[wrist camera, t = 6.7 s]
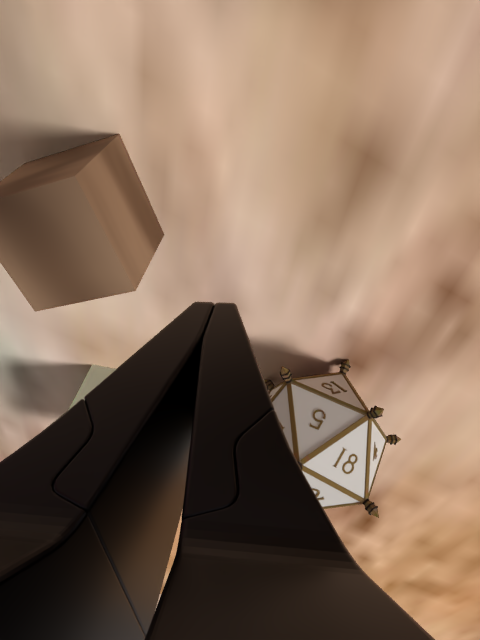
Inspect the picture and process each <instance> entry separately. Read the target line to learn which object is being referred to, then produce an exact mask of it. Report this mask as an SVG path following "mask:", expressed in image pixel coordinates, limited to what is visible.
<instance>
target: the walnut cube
mask: <svg viewBox="0 0 480 640" xmlns="http://www.w3.org/2000/svg"><path fill="white" fill-rule="evenodd" d="M163 236H164V233H163V231H162V228H161V226H160V224H159V222H158V220H157V217H156V215H155V213H154V211H153V208H152V206H151V204H150V202H149V199H148V197H147V195H146V193H145V190H144V188H143V186H142V184H141V181H140V179H139V177H138V175H137V172H136V170H135V168H134V166H133V163H132V161H131V159H130V157H129V154H128V152H127V150H126V148H125V145H124V143H123V141H122V139H121V136H120V134H117V135H114V136H111V137H108V138H104V139H101V140H98V141H95V142H92V143H88V144H85V145H82V146H79V147H76V148H73V149H69V150H66V151H63V152H60V153H57V154H53V155H50V156H47V157H44V158H41V159H37V160H34V161H31V162H28V163H25V164H23V165H22V166H21V167H19V168H18V169H17V170H15V171H14V172H12V173H11V174H10V175H8V176H7V177H6V178H4V179H3V180H2V181H0V263H1V264H2V265H3V267H4V268H5V270H6V271H7V272H8V274H9V275H10V277H11V278H12V279H13V281H14V282H15V284H16V285H17V287H18V288H19V289H20V291H21V292H22V294H23V295H24V296H25V298H26V299H27V301H28V302H29V304H30V305H31V306H32V308H33V309H34V311H40V310H45V309H50V308H55V307H59V306H64V305H69V304H74V303H79V302H84V301H88V300H93V299H98V298H103V297H108V296H113V295H118V294H122V293H127V292H132V291H136V289H137V287H138V285H139V283H140V281H141V279H142V277H143V275H144V273H145V271H146V269H147V267H148V265H149V263H150V261H151V259H152V257H153V255H154V254H155V252H156V250H157V248H158V246H159V244H160V242H161V240H162V238H163Z"/></svg>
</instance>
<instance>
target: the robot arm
mask: <svg viewBox="0 0 480 640" xmlns="http://www.w3.org/2000/svg"><path fill="white" fill-rule="evenodd" d="M84 399H85V400H84ZM84 399H81V400H80V401H78V402H77V403H76V404H75V405H74V406H73V407H71V408H70V409H69V410H68V411H67V412H66V413H64V414H63V415H62V416H61V417H59V418H58V419H57V420H56V421H55V422H53V423H52V424H51V425H50V426H48V427H47V428H46V429H45V430H43V431H42V432H41V433H39V434H38V435H37V436H35V437H34V438H33V439H31V440H30V441H29V442H27V443H26V444H25V445H23V446H22V447H21V448H19V449H18V450H17V451H15V452H14V453H12V454H11V455H10V456H8V457H7V458H5V459H4V460H3V461H1V462H0V640H435V639H434V638H433V637H432V636H431V635H430V634H429V633H427V632H426V631H425V630H424V629H423V628H422V627H421V626H420V625H419V624H418V623H417V622H416V621H415V620H414V619H413V618H412V617H411V616H410V615H409V614H407V613H406V612H405V611H404V610H403V609H402V608H401V607H400V606H399V605H398V604H397V603H396V602H395V601H394V600H393V599H392V598H391V597H390V596H388V595H387V594H386V593H385V592H384V591H383V590H382V589H381V588H380V587H379V586H378V585H377V584H376V583H375V582H374V581H373V580H372V579H371V578H370V577H369V576H368V575H367V574H366V573H365V572H364V571H363V570H362V569H361V568H360V567H359V565H358V564H357V563H356V561H355V560H354V559H353V557H352V556H351V555H350V553H349V552H348V550H347V548H346V547H345V545H344V544H343V542H342V541H341V539H340V537H339V536H338V534H337V532H336V530H335V529H334V527H333V525H332V523H331V522H330V520H329V518H328V516H327V514H326V513H325V511H324V509H323V507H322V506H321V504H320V502H319V500H318V498H317V497H316V495H315V493H314V491H313V490H312V488H311V486H310V484H309V482H308V481H307V479H306V477H305V475H304V474H303V472H302V470H301V468H300V466H299V464H298V462H297V460H296V458H295V456H294V454H293V452H292V450H291V448H290V446H289V444H288V441H287V439H286V436H285V434H284V432H283V429H282V427H281V424H280V422H279V419H278V416H277V414H276V412H275V409H274V406H273V403H272V401H271V398H270V395H269V393H268V390H267V387H266V384H265V382H264V379H263V376H262V374H261V371H260V368H259V365H258V363H257V360H256V357H255V355H254V352H253V349H252V347H251V344H250V341H249V338H248V336H247V333H246V330H245V328H244V325H243V322H242V319H241V317H240V314H239V311H238V309H237V306H236V304H234V303H216V304H214V303H212V302H195V303H193V304H192V305H191V306H189V307H188V308H187V309H186V310H185V311H184V312H182V313H181V314H180V315H179V316H178V317H177V318H175V319H174V320H173V321H172V322H171V323H170V324H168V325H167V326H166V327H165V328H164V329H163V330H161V331H160V332H159V333H158V334H157V335H156V336H154V337H153V338H152V339H151V340H150V341H149V342H147V343H146V344H145V345H144V346H143V347H142V348H140V349H139V350H138V351H137V352H136V353H135V354H134V355H132V356H131V357H130V358H129V359H128V360H127V361H125V362H124V363H123V364H122V365H121V366H120V367H118V368H117V369H116V370H115V371H114V372H113V373H111V374H110V375H109V376H108V377H107V378H106V379H104V380H103V381H102V382H101V383H100V384H99V385H97V386H96V387H95V388H94V389H93V390H92V391H90V392H89V393H88V394H87V395H86V396H85V397H84ZM182 509H183V511H182ZM181 512H182V523H181V529H180V536H179V542H178V547H177V552H176V556H175V559H174V562H173V565H172V568H171V571H170V573H169V576H168V579H167V581H166V584H165V587H164V589H163V592H162V595H161V597H160V600H159V603H158V605H157V601H158V598H159V594H160V590H161V587H162V583H163V579H164V576H165V572H166V568H167V564H168V561H169V557H170V553H171V549H172V546H173V542H174V538H175V535H176V531H177V527H178V523H179V520H180V516H181ZM156 605H157V608H156ZM155 609H156V611H155Z"/></svg>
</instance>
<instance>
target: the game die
mask: <svg viewBox="0 0 480 640" xmlns="http://www.w3.org/2000/svg"><path fill="white" fill-rule="evenodd" d="M350 367H351V366H350V365H349V360H347V361H345V362H343V363H341V367H340V372H337V373H329V374H322V375H314V376H306V377H298V378H291V375H292V374H291V373H290V370H289V369H286V368H284V367H283V366H282V369H281V372H280V374H281V376H282V378H283V380H285V381H284V382H282V383H281V384H279V385H277V386H276V387H274V384H273V383H272V381H270V380H265V384H266V387H267V390H270V392H269V395H270V398H271V401H272V403H273V406H274V409H275V412H276V414H277V416H278V419H279V422H280V424H281V427H282V429H283V432H284V434H285V436H286V439H287V441H288V444H289V446H290V448H291V450H292V452H293V454H294V456H295V458H296V460H297V462H298V464H299V466H300V468H301V470H302V472H303V474H304V475H305V477H306V479H307V481H308V482H309V484H310V486H311V488H312V490H313V491H314V493H315V495H316V497H317V498H318V500H319V502H320V504H321V506H322V507H323V509H328V508H336V507H343V506H351V505H359V504H364V505H365V509H366V510H367V511H368V512H369V514H370V515H371V514H372V515H374V516H376V517H378V518H379V515H378V509H377V508H378V506H375V505H374V502H373V503H372V502H371V501H369V499H368V498H369V495H370V492H371V489H372V486H373V483H374V479H375V476H376V473H377V470H378V467H379V464H380V461H381V458H382V454H383V451H384V448H385V445H386V443H390V444H394V445H396V443H397V442H398V441H400V440H401V438H399V437H397V436H396V435H388V436H386V435H385V434H384V432H383V431H382V429H381V428H380V426H379V425H378V423H377V422H376V420H375V419H374V418H378V417H381V416H382V413H383V410H384V409H382V408H379V407H377V406H374V408H371V410H370V411H369V410H368V408H367V407H366V405H365V404H364V402H363V401H362V399H361V398H360V396H359V395H358V393H357V392H356V390H355V389H354V387H353V386H352V384H351V383H350V381H349V379H348V378H347V376H346V372H348V371H349V370H348V369H349V368H350Z"/></svg>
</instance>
